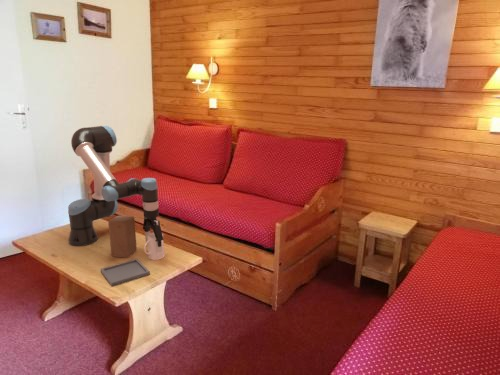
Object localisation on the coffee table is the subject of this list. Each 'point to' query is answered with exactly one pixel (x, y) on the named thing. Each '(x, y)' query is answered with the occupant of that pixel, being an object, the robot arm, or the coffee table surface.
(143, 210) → the robot arm
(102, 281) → the coffee table surface
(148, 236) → the mug
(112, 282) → the tray
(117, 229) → the wooden block
